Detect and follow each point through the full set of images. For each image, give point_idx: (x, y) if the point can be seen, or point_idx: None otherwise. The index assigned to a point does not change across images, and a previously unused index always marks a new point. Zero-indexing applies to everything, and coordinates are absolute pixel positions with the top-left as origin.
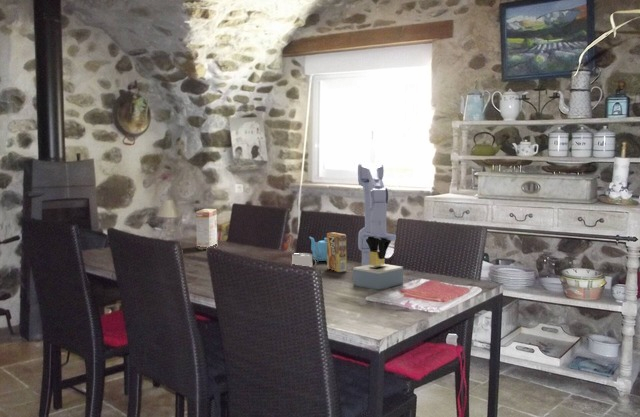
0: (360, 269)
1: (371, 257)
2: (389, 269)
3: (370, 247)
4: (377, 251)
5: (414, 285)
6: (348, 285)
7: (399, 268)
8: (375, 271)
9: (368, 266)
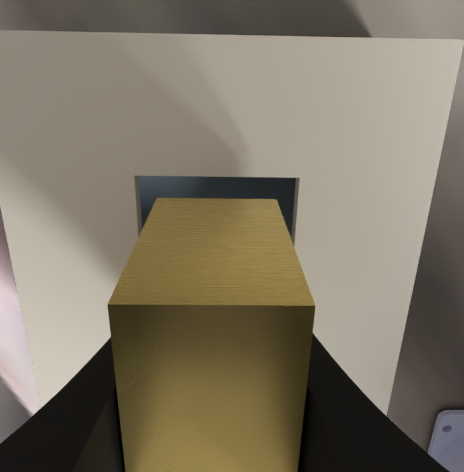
0: (323, 38)
1: (244, 246)
2: (27, 272)
3: (380, 449)
4: (174, 410)
5: (16, 366)
6: (412, 5)
7: (44, 404)
8: (36, 33)
9: (340, 253)
